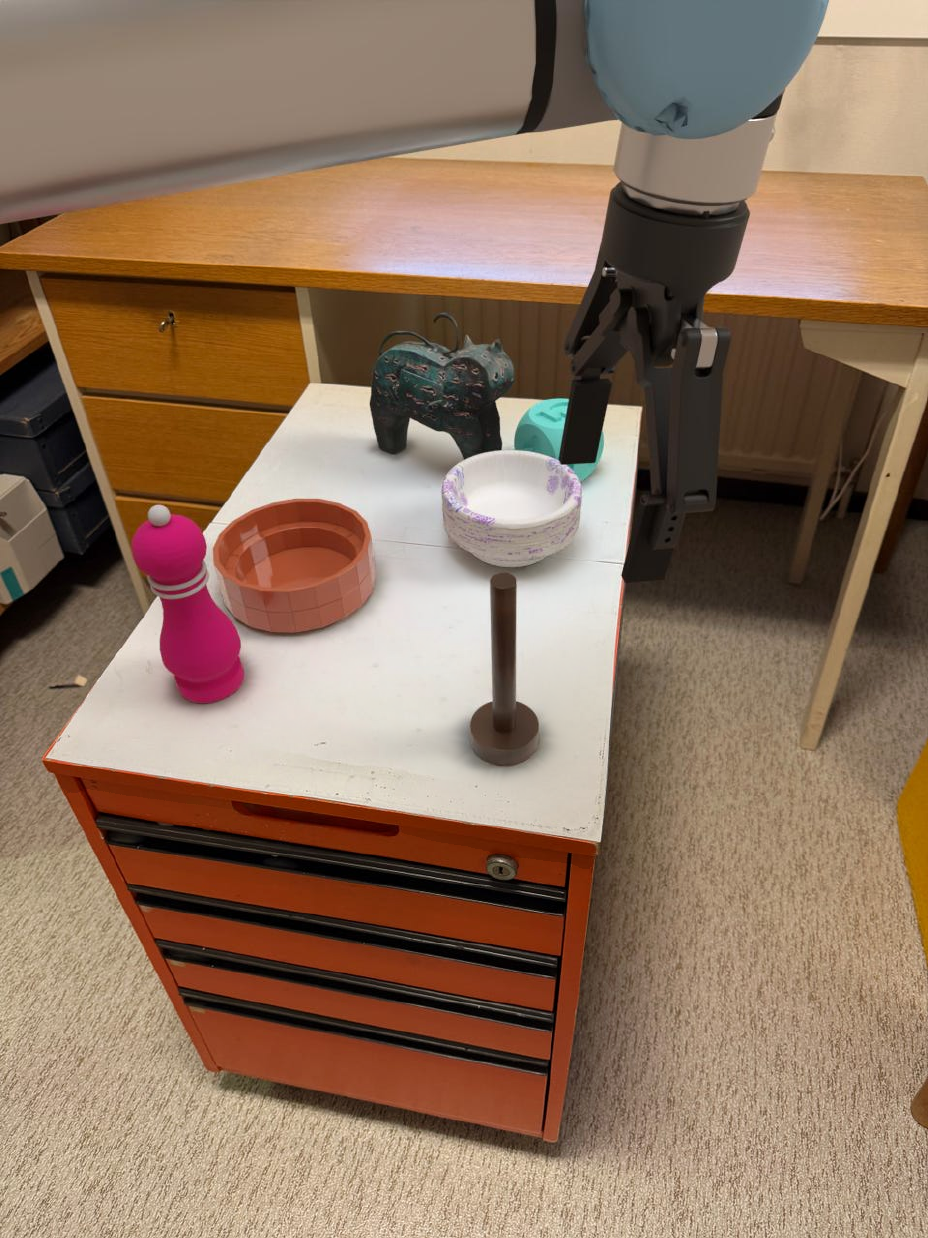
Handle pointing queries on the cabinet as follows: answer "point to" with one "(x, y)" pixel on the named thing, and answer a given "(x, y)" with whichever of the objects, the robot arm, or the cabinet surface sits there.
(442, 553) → the cabinet surface
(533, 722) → the dowel on disc base
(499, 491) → the paper bowls
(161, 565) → the pepper mill
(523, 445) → the decorative dice
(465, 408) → the ceramic cat
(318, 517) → the bowl
